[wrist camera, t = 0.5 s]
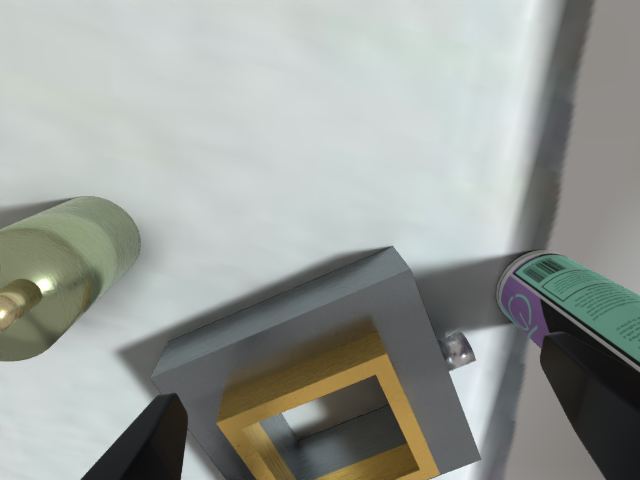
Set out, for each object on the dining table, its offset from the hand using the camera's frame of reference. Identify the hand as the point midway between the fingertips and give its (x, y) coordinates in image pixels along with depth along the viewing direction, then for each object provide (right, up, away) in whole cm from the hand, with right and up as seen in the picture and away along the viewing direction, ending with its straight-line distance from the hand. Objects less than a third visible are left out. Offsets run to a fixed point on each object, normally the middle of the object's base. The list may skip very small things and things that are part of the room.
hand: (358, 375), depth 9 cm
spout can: (-14, +3, +13) cm, 19 cm away
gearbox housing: (-1, -7, +18) cm, 19 cm away
